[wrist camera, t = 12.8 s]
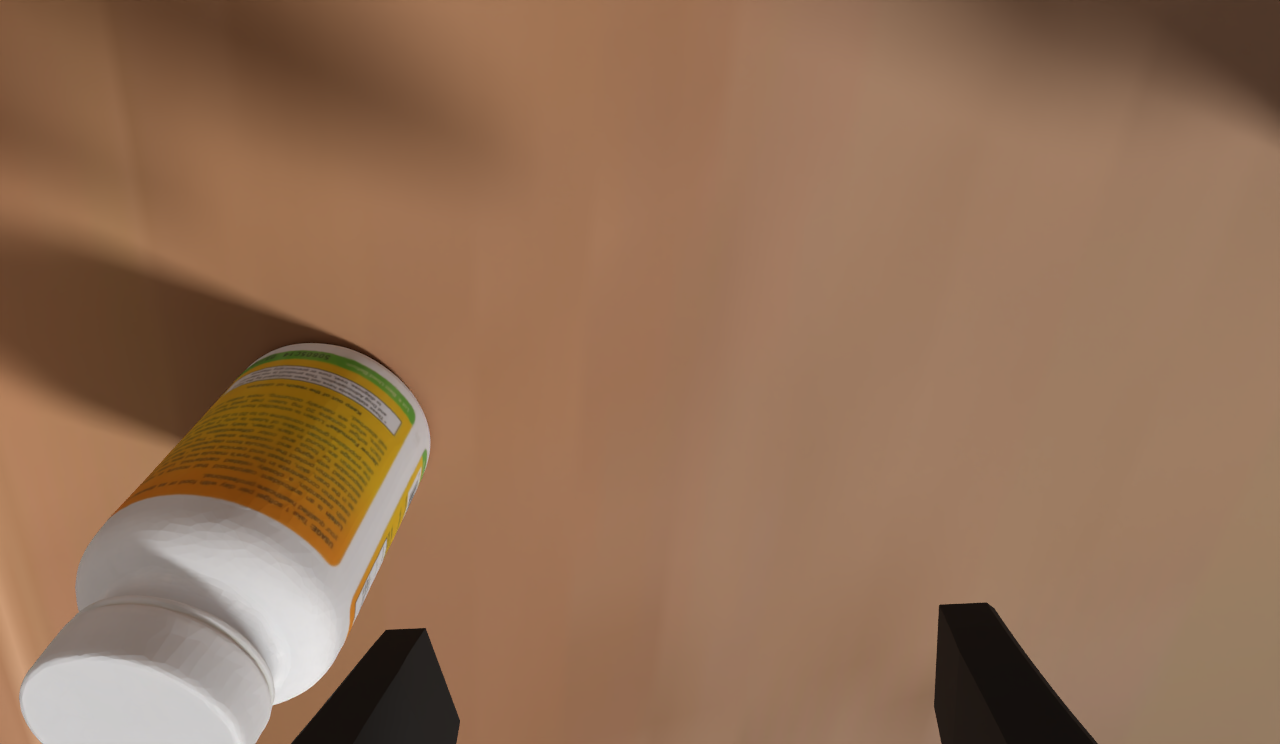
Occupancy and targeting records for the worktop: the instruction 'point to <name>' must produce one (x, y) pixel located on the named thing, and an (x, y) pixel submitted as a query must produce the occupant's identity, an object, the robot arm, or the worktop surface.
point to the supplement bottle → (236, 558)
